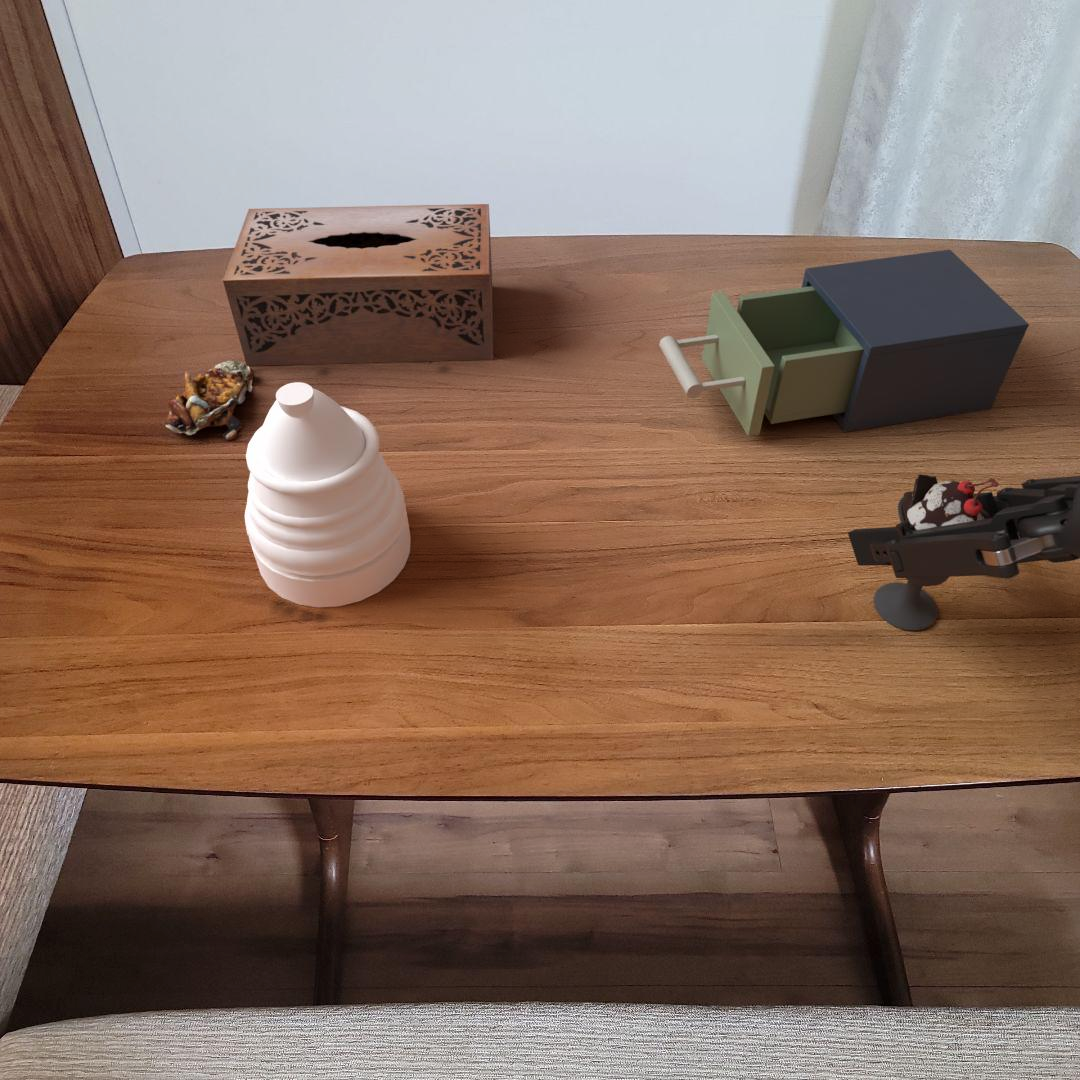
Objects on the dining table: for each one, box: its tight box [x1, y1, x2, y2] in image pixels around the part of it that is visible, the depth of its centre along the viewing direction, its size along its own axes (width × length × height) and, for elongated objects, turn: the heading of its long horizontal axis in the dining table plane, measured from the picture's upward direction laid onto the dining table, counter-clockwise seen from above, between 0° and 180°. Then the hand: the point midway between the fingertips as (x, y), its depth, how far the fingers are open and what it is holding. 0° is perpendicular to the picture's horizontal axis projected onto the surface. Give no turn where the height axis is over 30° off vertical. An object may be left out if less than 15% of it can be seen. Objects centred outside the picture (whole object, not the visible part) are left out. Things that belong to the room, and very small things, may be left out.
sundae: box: [873, 473, 1000, 631], centre depth 69 cm, size 7×7×15 cm
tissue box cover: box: [222, 203, 494, 367], centre depth 98 cm, size 26×14×10 cm, turn 92°
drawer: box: [659, 286, 864, 437], centre depth 89 cm, size 20×13×8 cm, turn 103°
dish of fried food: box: [165, 360, 254, 441], centre depth 91 cm, size 7×12×4 cm, turn 1°
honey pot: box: [244, 381, 412, 608], centre depth 72 cm, size 13×13×18 cm
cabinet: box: [801, 249, 1030, 433], centre depth 92 cm, size 16×14×10 cm
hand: (893, 531), depth 73 cm, fingers closed on sundae, 7 cm apart
